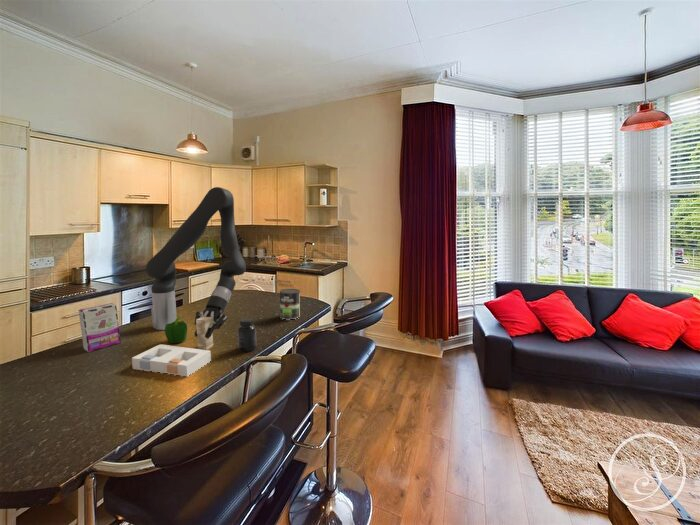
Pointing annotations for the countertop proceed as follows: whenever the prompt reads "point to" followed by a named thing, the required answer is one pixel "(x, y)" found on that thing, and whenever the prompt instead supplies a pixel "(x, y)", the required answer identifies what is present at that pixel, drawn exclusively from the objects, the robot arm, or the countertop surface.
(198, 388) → the countertop surface
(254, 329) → the supplement bottle
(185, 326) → the bell pepper
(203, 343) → the beech plug
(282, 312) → the coffee can
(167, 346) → the socket hub
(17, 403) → the countertop surface
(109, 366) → the countertop surface
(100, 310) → the candy bar box
